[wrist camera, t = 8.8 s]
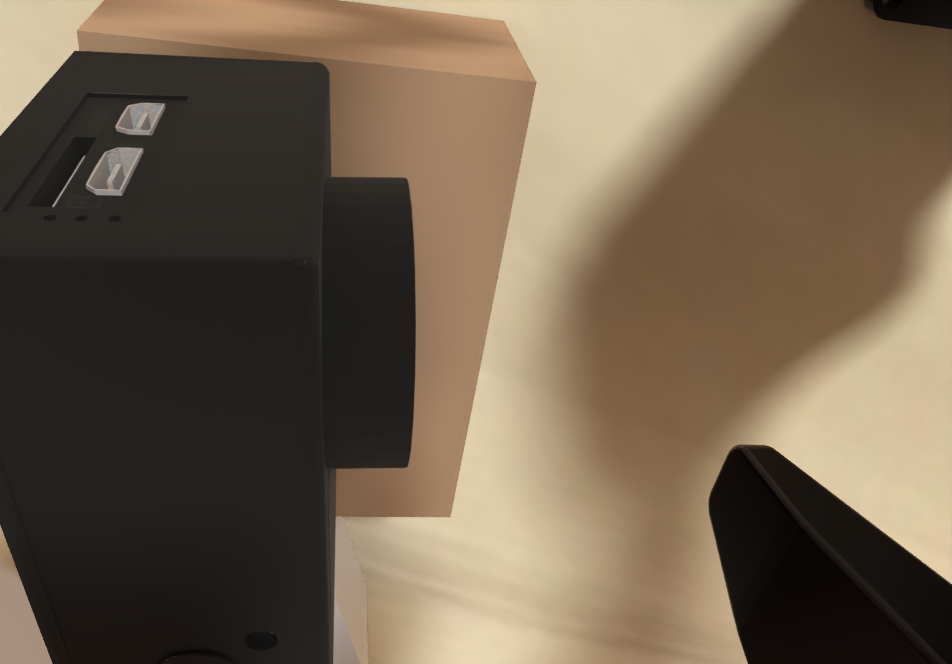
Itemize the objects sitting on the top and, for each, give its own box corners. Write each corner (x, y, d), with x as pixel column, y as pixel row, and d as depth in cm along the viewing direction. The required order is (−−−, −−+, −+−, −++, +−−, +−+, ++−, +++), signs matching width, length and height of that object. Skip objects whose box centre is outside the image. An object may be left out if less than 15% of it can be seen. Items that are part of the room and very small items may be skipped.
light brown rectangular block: (503, 21, 18) (536, 81, 15) (437, 417, 25) (450, 517, 22) (128, -27, 17) (76, 30, 14) (165, 409, 24) (136, 514, 21)
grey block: (334, 491, 27) (332, 593, 24) (366, 582, 30) (369, 684, 27) (183, 519, 27) (161, 626, 24) (231, 608, 30) (217, 713, 27)
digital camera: (383, 471, 21) (396, 743, 15) (159, 477, 20) (85, 768, 14) (396, 62, 15) (425, 265, 9) (75, 47, 14) (-108, 260, 8)
